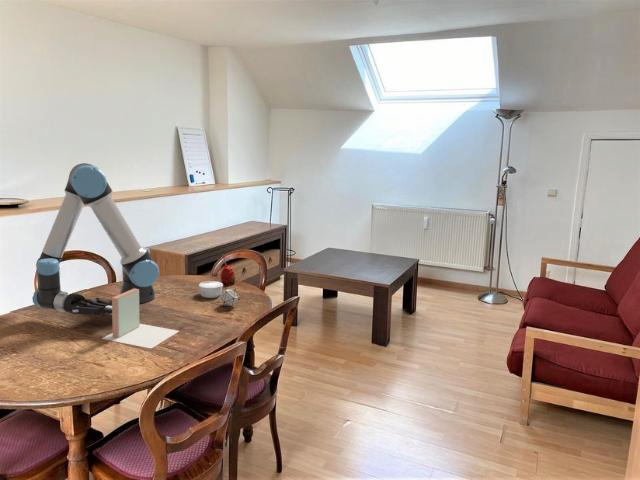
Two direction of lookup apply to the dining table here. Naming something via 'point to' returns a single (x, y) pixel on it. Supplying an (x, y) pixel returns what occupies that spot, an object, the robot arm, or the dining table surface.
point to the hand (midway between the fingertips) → (121, 312)
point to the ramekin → (210, 289)
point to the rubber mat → (144, 336)
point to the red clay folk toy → (227, 274)
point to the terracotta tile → (125, 312)
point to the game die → (229, 297)
